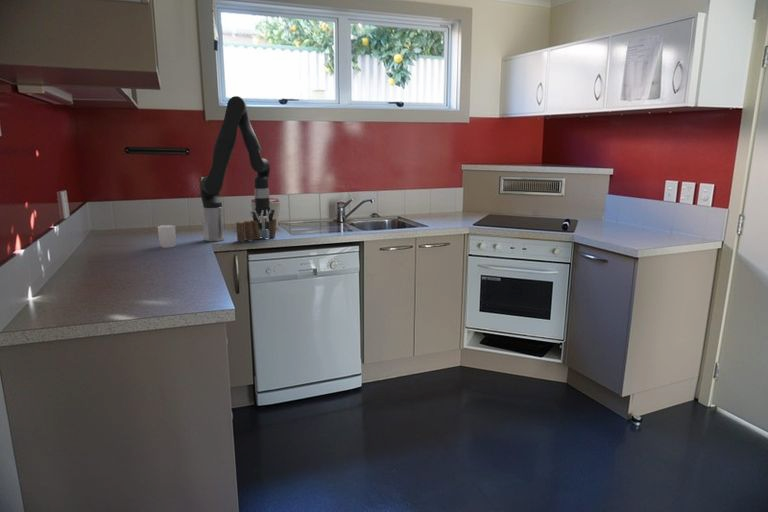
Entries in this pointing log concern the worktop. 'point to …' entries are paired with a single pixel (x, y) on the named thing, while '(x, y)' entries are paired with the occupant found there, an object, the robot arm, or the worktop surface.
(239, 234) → the domino
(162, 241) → the white cup
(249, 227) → the domino
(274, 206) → the canister
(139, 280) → the worktop surface
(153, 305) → the worktop surface
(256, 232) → the domino
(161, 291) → the worktop surface
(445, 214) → the worktop surface
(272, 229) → the domino
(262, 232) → the domino
